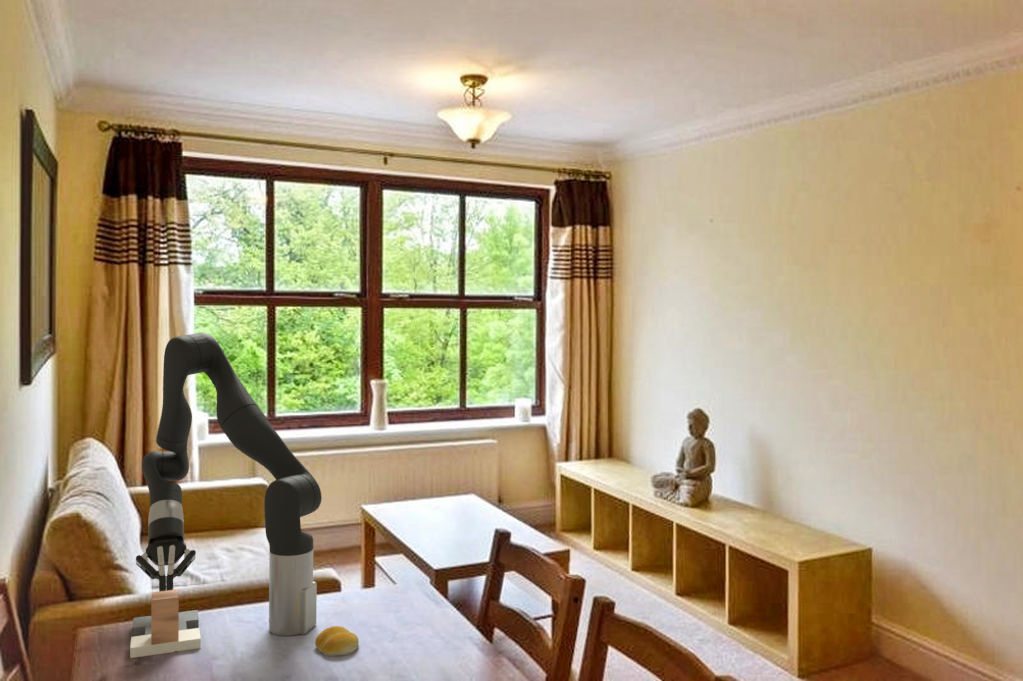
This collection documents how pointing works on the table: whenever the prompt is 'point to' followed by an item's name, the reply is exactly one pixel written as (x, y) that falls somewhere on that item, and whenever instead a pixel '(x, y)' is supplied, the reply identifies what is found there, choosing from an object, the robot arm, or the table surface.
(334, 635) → the bread roll
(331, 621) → the table surface
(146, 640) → the pad
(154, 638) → the block
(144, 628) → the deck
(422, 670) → the table surface
